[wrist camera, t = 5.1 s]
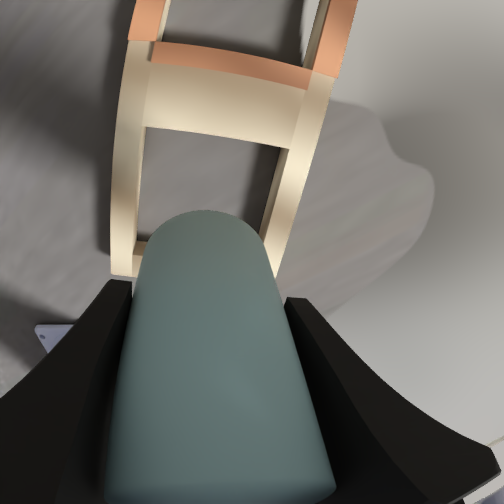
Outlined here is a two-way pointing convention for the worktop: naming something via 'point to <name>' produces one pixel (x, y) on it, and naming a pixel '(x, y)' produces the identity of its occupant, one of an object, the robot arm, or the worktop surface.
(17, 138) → the worktop surface
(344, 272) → the worktop surface
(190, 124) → the wooden slot frame
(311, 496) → the peg
